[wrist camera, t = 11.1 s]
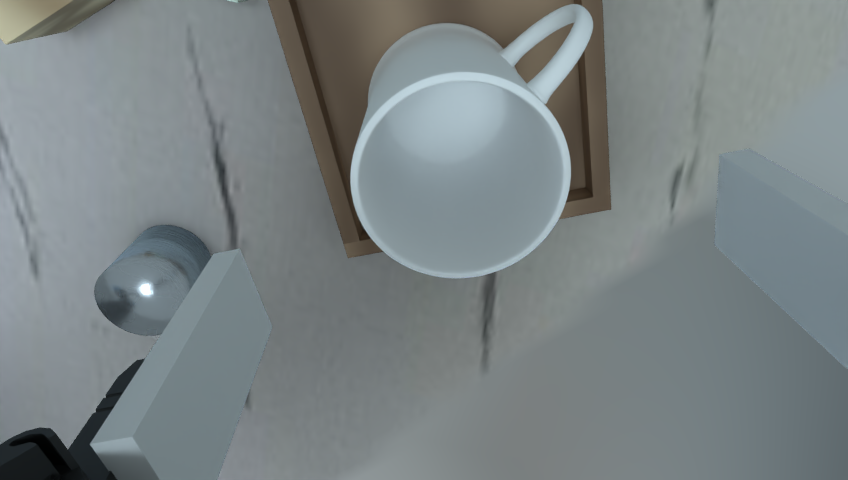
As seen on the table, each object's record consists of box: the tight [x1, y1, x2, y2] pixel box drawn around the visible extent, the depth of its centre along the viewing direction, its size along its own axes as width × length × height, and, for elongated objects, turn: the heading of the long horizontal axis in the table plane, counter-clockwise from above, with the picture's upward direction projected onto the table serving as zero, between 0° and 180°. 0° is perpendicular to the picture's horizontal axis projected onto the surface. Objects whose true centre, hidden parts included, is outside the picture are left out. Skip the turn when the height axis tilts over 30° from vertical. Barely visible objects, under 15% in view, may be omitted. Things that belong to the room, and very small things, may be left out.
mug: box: [350, 4, 593, 278], centre depth 24 cm, size 12×8×12 cm
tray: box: [268, 0, 611, 258], centre depth 30 cm, size 16×16×2 cm
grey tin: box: [94, 225, 211, 336], centre depth 34 cm, size 5×5×5 cm
